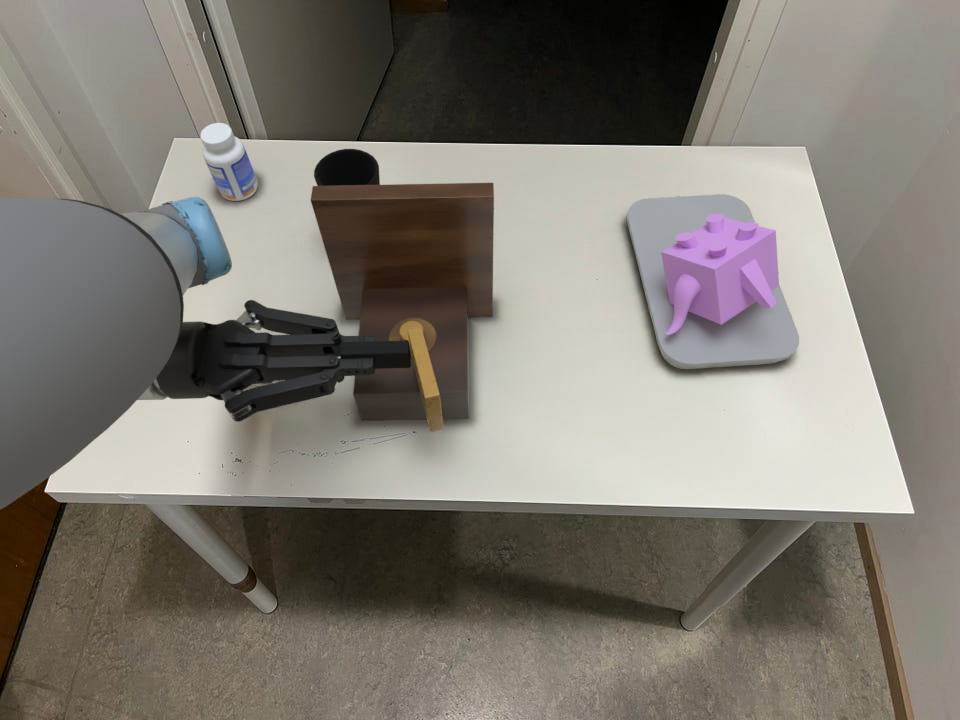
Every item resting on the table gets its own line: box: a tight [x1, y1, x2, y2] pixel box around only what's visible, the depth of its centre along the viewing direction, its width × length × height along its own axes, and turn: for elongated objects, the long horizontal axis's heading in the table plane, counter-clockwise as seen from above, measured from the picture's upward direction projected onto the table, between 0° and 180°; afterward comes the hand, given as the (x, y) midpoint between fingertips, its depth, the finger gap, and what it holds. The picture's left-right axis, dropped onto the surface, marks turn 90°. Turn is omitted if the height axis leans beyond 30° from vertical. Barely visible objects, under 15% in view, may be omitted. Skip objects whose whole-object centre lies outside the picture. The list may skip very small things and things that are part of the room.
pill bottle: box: [200, 122, 259, 202], centre depth 92 cm, size 5×5×10 cm
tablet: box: [626, 193, 800, 370], centre depth 85 cm, size 16×26×2 cm, turn 4°
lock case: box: [310, 182, 495, 422], centre depth 72 cm, size 16×18×20 cm
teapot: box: [661, 214, 780, 335], centre depth 77 cm, size 18×13×10 cm
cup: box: [313, 148, 381, 186], centre depth 86 cm, size 8×8×12 cm
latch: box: [400, 321, 445, 433], centre depth 69 cm, size 13×3×7 cm, turn 15°
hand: (409, 354), depth 67 cm, fingers closed
